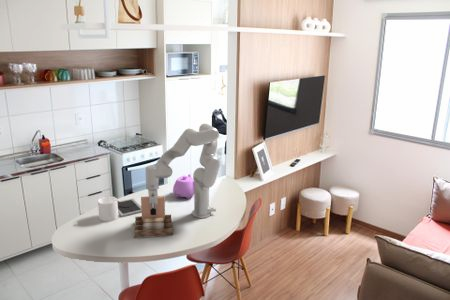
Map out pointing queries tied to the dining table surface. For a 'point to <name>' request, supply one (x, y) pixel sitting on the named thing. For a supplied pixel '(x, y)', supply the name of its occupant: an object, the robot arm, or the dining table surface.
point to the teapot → (184, 187)
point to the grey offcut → (153, 226)
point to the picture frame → (128, 208)
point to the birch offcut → (153, 220)
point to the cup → (108, 208)
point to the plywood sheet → (159, 208)
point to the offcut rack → (153, 232)
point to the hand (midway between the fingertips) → (153, 213)
